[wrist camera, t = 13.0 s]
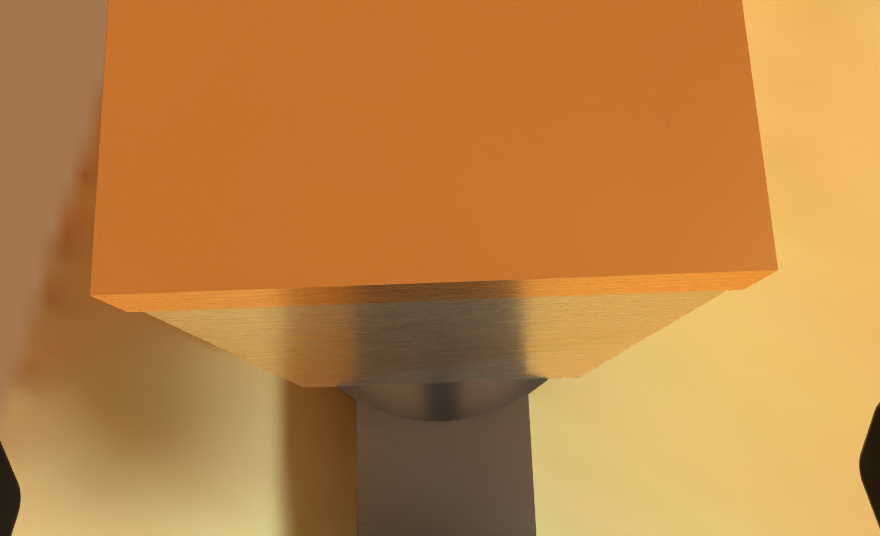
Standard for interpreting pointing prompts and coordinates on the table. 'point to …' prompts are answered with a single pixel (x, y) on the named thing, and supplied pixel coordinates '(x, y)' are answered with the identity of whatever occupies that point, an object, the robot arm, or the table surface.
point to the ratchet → (444, 458)
